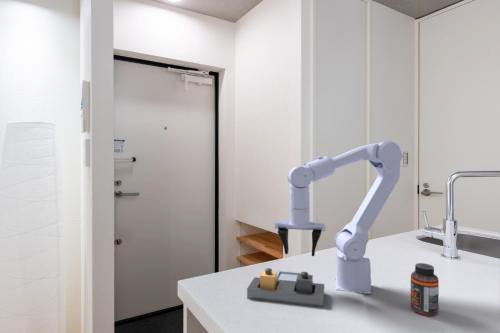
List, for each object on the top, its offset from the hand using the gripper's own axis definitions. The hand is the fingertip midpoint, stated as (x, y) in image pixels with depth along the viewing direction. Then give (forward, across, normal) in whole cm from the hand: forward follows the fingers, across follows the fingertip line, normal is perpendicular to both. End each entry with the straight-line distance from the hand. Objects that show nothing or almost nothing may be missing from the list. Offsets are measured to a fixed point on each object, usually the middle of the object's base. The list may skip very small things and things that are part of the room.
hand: (299, 254), depth 88 cm
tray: (+10, +3, -4) cm, 11 cm away
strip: (+10, +3, +7) cm, 12 cm away
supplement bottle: (+10, -31, +6) cm, 33 cm away
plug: (+10, +8, +7) cm, 14 cm away
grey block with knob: (+10, -2, +7) cm, 12 cm away
